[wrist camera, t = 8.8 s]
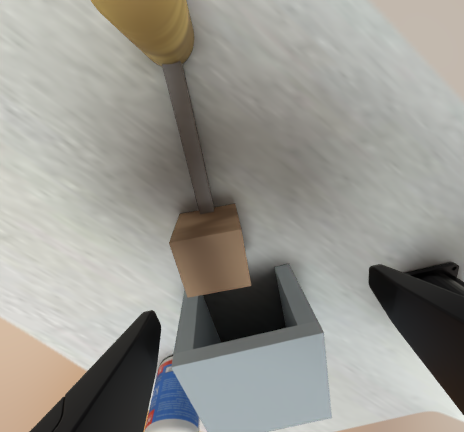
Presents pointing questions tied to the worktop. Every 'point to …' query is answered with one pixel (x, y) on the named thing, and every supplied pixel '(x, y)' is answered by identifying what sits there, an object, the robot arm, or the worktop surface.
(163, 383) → the pill bottle
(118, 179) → the worktop surface
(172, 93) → the block
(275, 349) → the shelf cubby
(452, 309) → the robot arm
